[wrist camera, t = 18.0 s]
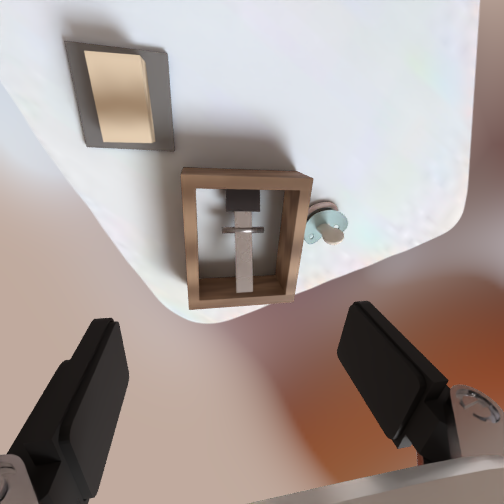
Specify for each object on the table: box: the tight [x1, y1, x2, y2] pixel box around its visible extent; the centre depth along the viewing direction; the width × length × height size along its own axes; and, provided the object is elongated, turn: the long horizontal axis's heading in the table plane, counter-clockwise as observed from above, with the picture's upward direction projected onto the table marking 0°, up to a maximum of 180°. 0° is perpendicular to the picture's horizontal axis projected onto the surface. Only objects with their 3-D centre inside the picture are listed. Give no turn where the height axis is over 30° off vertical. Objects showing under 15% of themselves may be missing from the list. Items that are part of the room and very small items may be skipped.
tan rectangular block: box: [84, 51, 156, 143], centre depth 27 cm, size 8×5×3 cm, turn 178°
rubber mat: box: [65, 41, 174, 151], centre depth 29 cm, size 10×10×1 cm
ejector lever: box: [222, 189, 264, 293], centre depth 36 cm, size 15×6×1 cm, turn 176°
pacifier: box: [304, 202, 348, 245], centre depth 38 cm, size 7×6×6 cm
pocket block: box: [181, 167, 313, 310], centre depth 36 cm, size 19×16×6 cm
